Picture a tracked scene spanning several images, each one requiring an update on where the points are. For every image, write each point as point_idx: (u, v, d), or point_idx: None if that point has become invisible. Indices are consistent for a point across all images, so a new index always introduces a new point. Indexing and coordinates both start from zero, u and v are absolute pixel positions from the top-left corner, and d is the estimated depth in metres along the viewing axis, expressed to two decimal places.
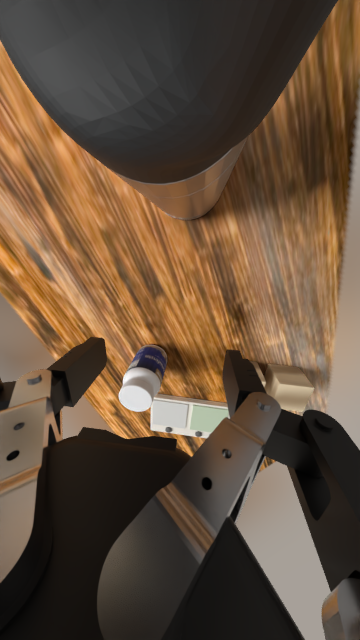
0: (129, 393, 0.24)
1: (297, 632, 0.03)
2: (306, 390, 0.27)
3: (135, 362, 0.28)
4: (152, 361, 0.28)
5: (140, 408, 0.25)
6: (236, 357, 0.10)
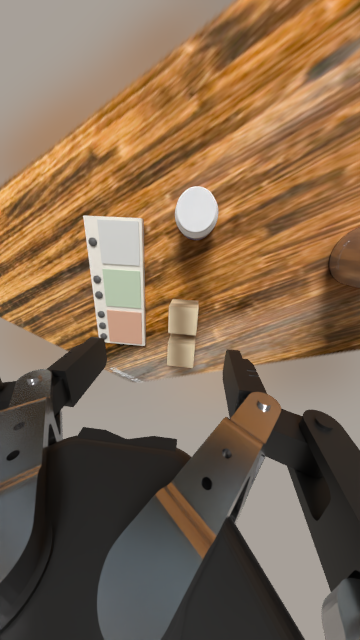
0: (204, 202, 0.21)
1: (297, 632, 0.03)
2: (189, 363, 0.35)
3: None
4: None
5: (182, 216, 0.21)
6: (236, 357, 0.10)
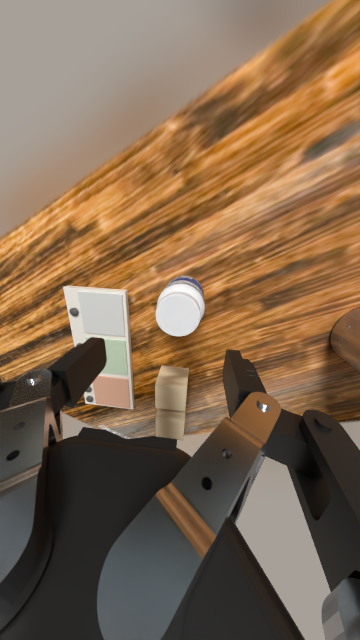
0: (186, 310, 0.18)
1: (297, 632, 0.03)
2: (179, 436, 0.32)
3: (202, 294, 0.22)
4: None
5: (162, 321, 0.19)
6: (236, 357, 0.10)
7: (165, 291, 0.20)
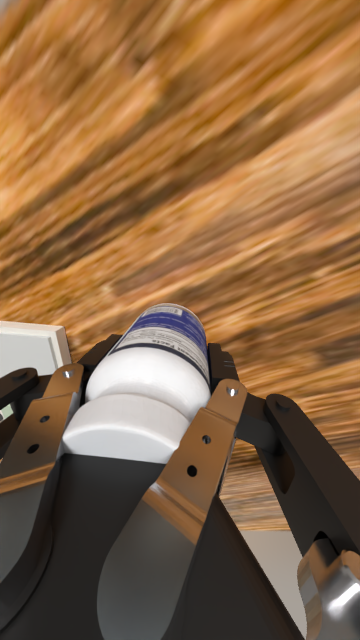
0: None
1: (297, 632, 0.03)
2: None
3: (205, 363, 0.09)
4: None
5: None
6: (215, 349, 0.11)
7: (100, 372, 0.07)
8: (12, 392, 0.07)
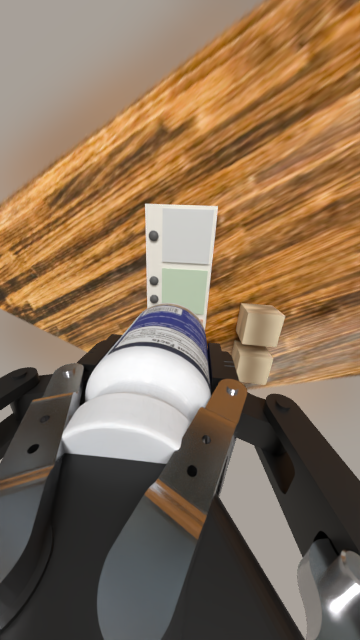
0: None
1: (297, 632, 0.03)
2: (263, 379, 0.29)
3: (205, 362, 0.09)
4: None
5: None
6: (215, 349, 0.11)
7: (100, 371, 0.07)
8: (12, 392, 0.07)
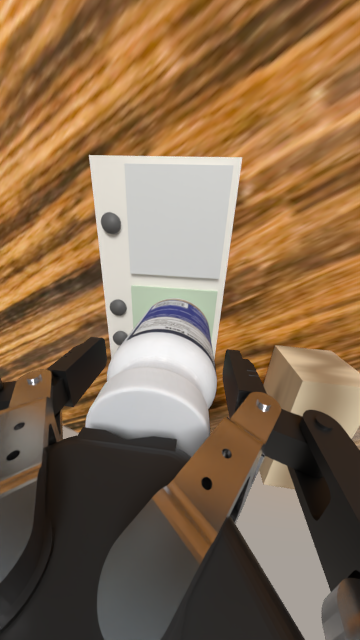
0: (170, 426, 0.06)
1: (297, 632, 0.03)
2: None
3: (210, 348, 0.10)
4: None
5: None
6: (236, 357, 0.10)
7: (122, 353, 0.08)
8: None
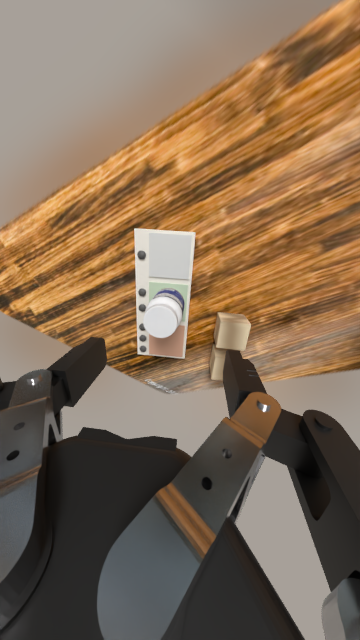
0: (166, 317, 0.24)
1: (296, 631, 0.03)
2: None
3: (181, 304, 0.28)
4: None
5: (148, 326, 0.25)
6: (236, 357, 0.10)
7: (151, 302, 0.26)
8: None
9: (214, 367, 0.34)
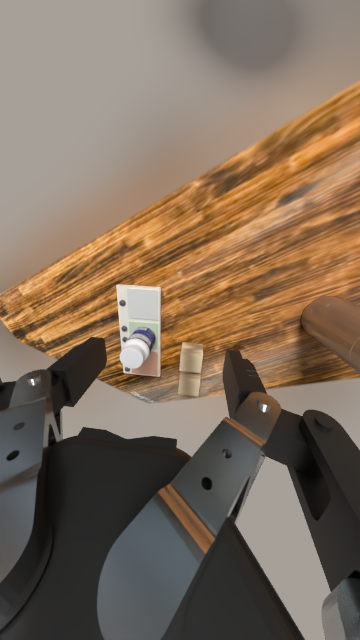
0: (135, 355, 0.35)
1: (297, 631, 0.03)
2: (195, 393, 0.45)
3: (149, 342, 0.39)
4: None
5: (123, 361, 0.36)
6: (236, 357, 0.10)
7: (126, 343, 0.37)
8: None
9: (179, 385, 0.44)
